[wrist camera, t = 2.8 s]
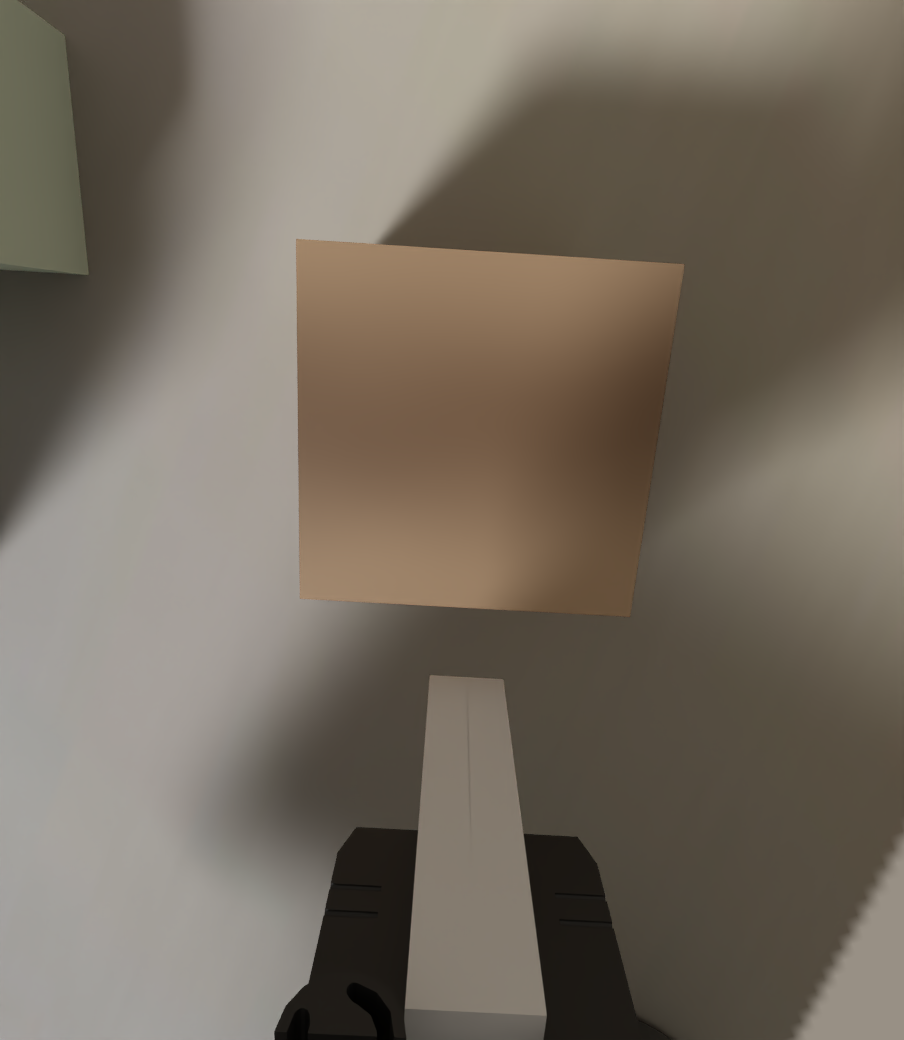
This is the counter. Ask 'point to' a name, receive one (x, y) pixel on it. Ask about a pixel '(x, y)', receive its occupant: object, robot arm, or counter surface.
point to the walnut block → (477, 424)
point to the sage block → (37, 149)
